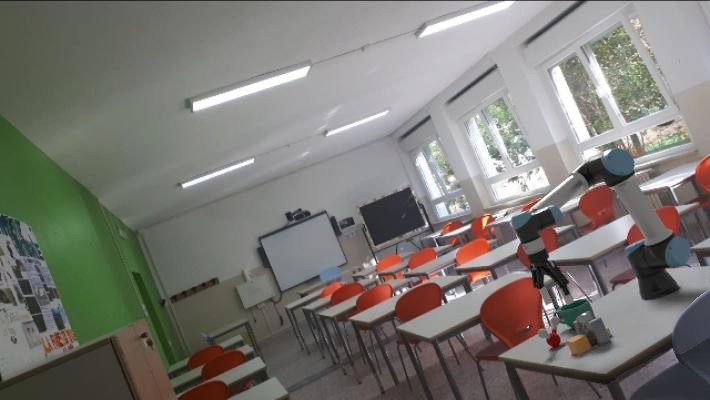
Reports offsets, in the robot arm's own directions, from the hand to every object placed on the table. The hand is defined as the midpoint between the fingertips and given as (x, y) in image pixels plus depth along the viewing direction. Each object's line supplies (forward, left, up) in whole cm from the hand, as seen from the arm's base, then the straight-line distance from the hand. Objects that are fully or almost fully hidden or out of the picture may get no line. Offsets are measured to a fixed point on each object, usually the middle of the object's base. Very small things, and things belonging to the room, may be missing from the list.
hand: (559, 303), depth 214 cm
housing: (-8, 0, -19) cm, 20 cm away
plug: (-6, 0, -19) cm, 20 cm away
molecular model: (-2, -18, -19) cm, 26 cm away
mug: (-20, -27, -19) cm, 39 cm away
